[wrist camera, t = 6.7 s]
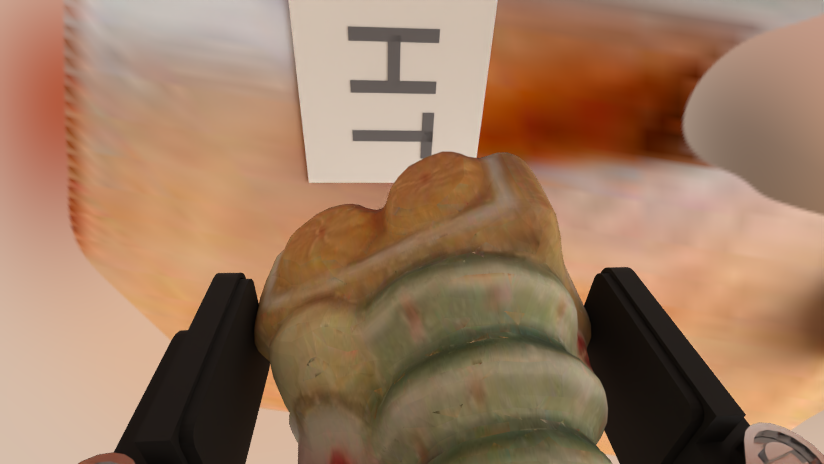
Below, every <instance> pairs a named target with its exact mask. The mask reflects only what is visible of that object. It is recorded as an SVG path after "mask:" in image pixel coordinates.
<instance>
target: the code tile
mask: <svg viewBox="0 0 824 464" xmlns="http://www.w3.org/2000/svg"><path fill="white" fill-rule="evenodd" d="M288 2H289V11H290V20H291V28H292V37H293V46H294V55H295V64H296V73H297V82H298V91H299V99H300V108H301V117H302V126H303V135H304V144H305V153H306V162H307V170H308V179H309V183H395V181H396V180H397V178H398V177H399V176H400V175H401V174H402V173H403V172H404V171H405V170H406V169H407V167H408V166H410V165H412V164H414V163H416V162H418V161H419V160H421V159H423V158H425V157H428V156H430V155H433V154H436V153H439V152H442V151H444V152H456V153H460V154H463V155H465V156H468V157H474V158H476V157H477V150H478V143H479V135H480V128H481V120H482V113H483V106H484V98H485V91H486V83H487V76H488V69H489V61H490V54H491V47H492V39H493V32H494V24H495V17H496V10H497V2H498V0H288Z"/></svg>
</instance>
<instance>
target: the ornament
mask: <svg viewBox="0 0 824 464" xmlns="http://www.w3.org/2000/svg"><path fill="white" fill-rule="evenodd" d="M590 339H591V323H590V320H589V316H588V313H587V311H586V309H585V307H584V306H583V303H582V301H581V299H580V297H579V295H578V293H577V290H576V288H575V286H574V284H573V282H572V280H571V278H570V276H569V274H568V272H567V269H566V267H565V264H564V261H563V255H562V248H561V237H560V231H559V227H558V222H557V218H556V214H555V212H554V210H553V208H552V206H551V204H550V202H549V200H548V198H547V196H546V194H545V192H544V190H543V188H542V187H541V185H540V183H539V182H538V180H537V178H536V176H535V175H534V173H533V172H532V170H531V169H530V168H529V166H528V165H527V164H526V163H525V161H523V160H522V159H521V158H519V157H518V156H515V155H513V154H510V153H495V154H492V155H489V156H486V157H482V158H474V157H468V156H465V155H463V154H460V153H456V152H444V151H442V152H439V153H436V154H433V155H430V156H428V157H425V158H423V159H421V160H419V161H418V162H416V163H414V164H412V165H410V166H408V167H407V169H406V170H405V171H404V172H403V173H402V174H401V175H400V176H399V177H398V178H397V180H396V181H395V183H394V184H393V186H392V187H391V190H390V192H389V195H388V199H387V203H386V205H385V206H384V208H382V209H379V210H373V209H368V208H365V207H363V206H360V205H355V204H344V205H339V206H335V207H331V208H328V209H326V210H324V211H323V212H320V213H318V214H316V215H315V216H314V217H313V218H311V219H310V220H309V221H308V222H306V223H305V224H304V225H303V226H301V227H300V228H299V229H298V230H296V232H295V233H294V234H293V235H292V236H291V237H290V239H289V241H288V243H287V245H286V247H285V250H283V251H282V252H281V253H280V254H279V255H278V256H277V257H276V260H275V262H274V264H273V267H272V269H271V271H270V274H269V276H268V278H267V280H266V283H265V286H264V289H263V292H262V295H261V297H260V302H259V306H258V311H257V315H256V320H255V327H254V340H255V345H256V347H257V349H258V351H259V352H260V353H261V354H262V355H263V356H264V357H265V358H266V359H267V360H269V361H270V364H271V369H272V373H273V377H274V380H275V382H276V385H277V387H278V389H279V392H280V394H281V396H282V399H283V401H284V403H285V405H286V407H287V409H288V411H289V412H290V415H289V424H290V427H291V430H292V433H293V434H294V436H295V438H296V440H297V442H298V464H612V463H611V461H610V459H608V457H607V456H606V455H605V454H604V453H603V452H601V451H600V450H599V448H598V447H597V446H596V444H597V443H598V441H599V439H600V438H601V436H602V434H603V431H604V429H605V426H606V424H607V417H608V405H607V399H606V394H605V390H604V388H603V386H602V384H601V381H600V379H599V378H598V377H597V376H596V375H595V374H594V372H593V370H592V367H591V365H590V361H589V357H588V353H587V346H588V344H589V342H590Z"/></svg>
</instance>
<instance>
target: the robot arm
mask: <svg viewBox="0 0 824 464" xmlns="http://www.w3.org/2000/svg"><path fill="white" fill-rule="evenodd" d="M258 306H259V303H258V299H257V295H256V291H255V286H254V282H253V280H252V279H246V278H245V275H244V274H243V273H218V274H216V275H215V276H214V278H213V280H212V282H211V284H210V286H209V288H208V290H207V293H206V295H205V297H204V299H203V301H202V303H201V305H200V307H199V309H198V311H197V313H196V315H195V317H194V319H193V321H192V323H191V325H190V327H189V330H183V331H179V332H178V333H176V334H175V336H174V337H173V339H172V340H171V342H170V344H169V346H168V348H167V350H166V352H165V354H164V356H163V358H162V360H161V362H160V364H159V366H158V368H157V370H156V371H155V374H154V375H153V377H152V379H151V381H150V383H149V385H148V387H147V389H146V391H145V393H144V395H143V397H142V399H141V401H140V403H139V405H138V406H137V408H136V410H135V412H134V414H133V416H132V418H131V420H130V422H129V424H128V426H127V428H126V430H125V432H124V434H123V436H122V437H121V440H120V441H119V443H118V445H117V447H116V449H115V451H114V453H105V454H99V455H96V456H93V457H91V458H88V459H86V460H84V461H82V462H80V463H78V464H245V462H246V459H247V455H248V451H249V447H250V442H251V439H252V435H253V430H254V427H255V423H256V419H257V415H258V411H259V407H260V403H261V399H262V395H263V391H264V387H265V383H266V379H267V375H268V371H269V367H270V361H269V360H267V359H266V358H265V357H264V356H263V355H262V354H261V353H260V352H259V351H258V349H257V347H256V345H255V340H254V327H255V320H256V315H257V311H258ZM584 307H585V309H586V311H587V313H588V316H589V320H590V323H591V339H590V342H589V344H588V346H587V353H588V357H589V361H590V365H591V367H592V370H593V372H594V374H595V375H596V376H597V377H598V378H599V379H600V381H601V384H602V386H603V388H604V390H605V394H606V399H607V405H608V417H607V424H606V426H605V429H604V431H605V433H606V435H607V437H608V439H609V441H610V443H611V446H612V448H613V450H614V452H615V454H616V456H617V458H618V461H619V463H620V464H824V455H823V454H822V453H821V452H820V451H819V450H818V449H817V448H816V447H815V446H814V445H812V444H811V443H810V442H808V441H807V440H805V439H804V438H803V437H801V436H799V435H798V434H796V433H794V432H792V431H790V430H788V429H786V428H784V427H781V426H778V425H775V424H771V423H757V424H753V425H751V426H750V425H749V424H748V422H747V421H746V420H745V418H744V416H745V415H746V414H745V413H744V412H743V411H742V409H741V408H740V407H739V405H738V404H737V403H736V402H735V400H734V399H733V398H732V396H731V395H730V394H729V393H728V391H727V390H726V389H725V387H724V386H723V385H722V384H721V382H720V381H719V380H718V378H717V377H716V376H715V375H714V373H713V372H712V371H711V370H710V368H709V367H708V366H707V364H706V363H705V362H704V361H703V359H702V358H701V357H700V355H699V354H698V353H697V352H696V350H695V349H694V348H693V346H692V345H691V344H690V343H689V341H688V340H687V339H686V337H685V336H684V335H683V334H682V332H681V331H680V330H679V328H678V327H677V326H676V325H675V323H674V322H673V321H672V319H671V318H670V317H669V316H668V314H667V313H666V312H665V311H664V309H663V308H662V307H661V305H660V304H659V303H658V302H657V300H656V299H655V298H654V296H653V295H652V294H651V293H650V291H649V290H648V289H647V287H646V286H645V285H644V284H643V282H642V281H641V280H640V278H639V277H638V276H637V275H636V273H635V272H634V271H633V270H632V269H631V268H628V267H616V268H604V269H603V270H602V272H601V273H599V274H597V275H596V276H595V278H594V281H593V283H592V286H591V289H590V291H589V294H588V297H587V299H586V302H585V305H584Z"/></svg>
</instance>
